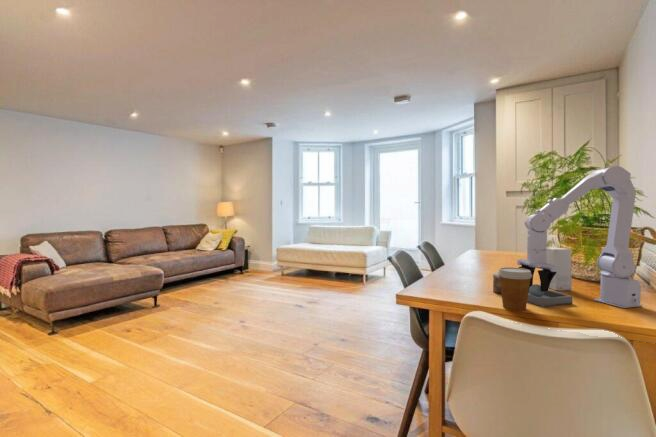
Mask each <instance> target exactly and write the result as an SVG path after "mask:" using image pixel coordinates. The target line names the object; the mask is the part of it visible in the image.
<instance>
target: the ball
mask: <svg viewBox="0 0 656 437" xmlns="http://www.w3.org/2000/svg"><path fill="white" fill-rule="evenodd" d="M529 292H530V294H531V295H533V296H536V297H541V296H543V294H544V292H542V291H541V285H540V284H538V283H536V284H535V283H533V285H532V286H531V287H530V288H529Z"/></svg>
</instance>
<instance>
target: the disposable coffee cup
mask: <svg viewBox="0 0 656 437" xmlns="http://www.w3.org/2000/svg"><path fill="white" fill-rule="evenodd" d="M497 274H498V275H499V278H500V286H501V300H502V307H503V308H504V309H506V310H510V311H514V312H515V311H517V312H518V311H519V312H520V311H521V312H523V311H526V310H527V305H528V304H527V303H528V302H527V298H528V292H529V285H530V279H531V277H532V274H531V271H530V270H528V269H523V268H519V267H511V266H510V267H509V266H508V267H506V266H505V267H500V268H499V269H498V272H497Z"/></svg>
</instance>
